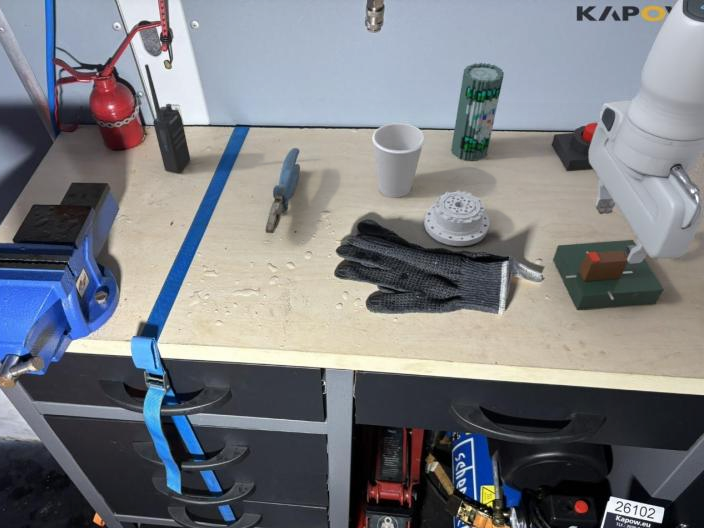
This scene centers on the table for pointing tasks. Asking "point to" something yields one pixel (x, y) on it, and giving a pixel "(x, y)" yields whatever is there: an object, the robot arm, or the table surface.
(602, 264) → the handle
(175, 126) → the walkie-talkie
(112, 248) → the table surface
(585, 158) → the switch block
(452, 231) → the mechanical component
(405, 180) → the dixie cup
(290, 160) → the pliers
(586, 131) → the button
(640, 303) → the panel
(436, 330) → the table surface
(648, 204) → the robot arm
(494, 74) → the can
